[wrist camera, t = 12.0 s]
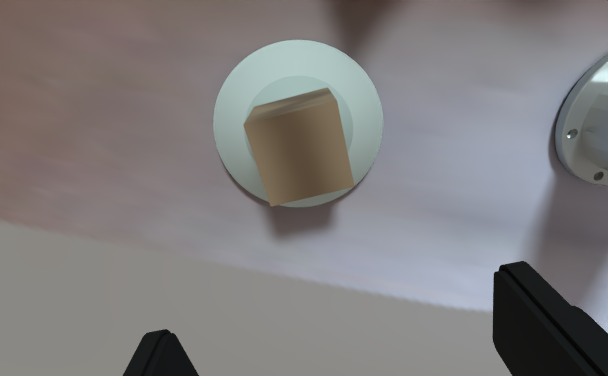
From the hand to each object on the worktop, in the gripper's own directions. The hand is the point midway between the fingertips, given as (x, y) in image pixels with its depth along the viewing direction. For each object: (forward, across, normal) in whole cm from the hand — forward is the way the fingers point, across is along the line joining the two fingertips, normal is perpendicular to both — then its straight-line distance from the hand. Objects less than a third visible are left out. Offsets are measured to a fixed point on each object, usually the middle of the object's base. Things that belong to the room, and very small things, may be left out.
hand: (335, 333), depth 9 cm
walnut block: (+19, +1, -1) cm, 19 cm away
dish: (+20, +1, -1) cm, 21 cm away
